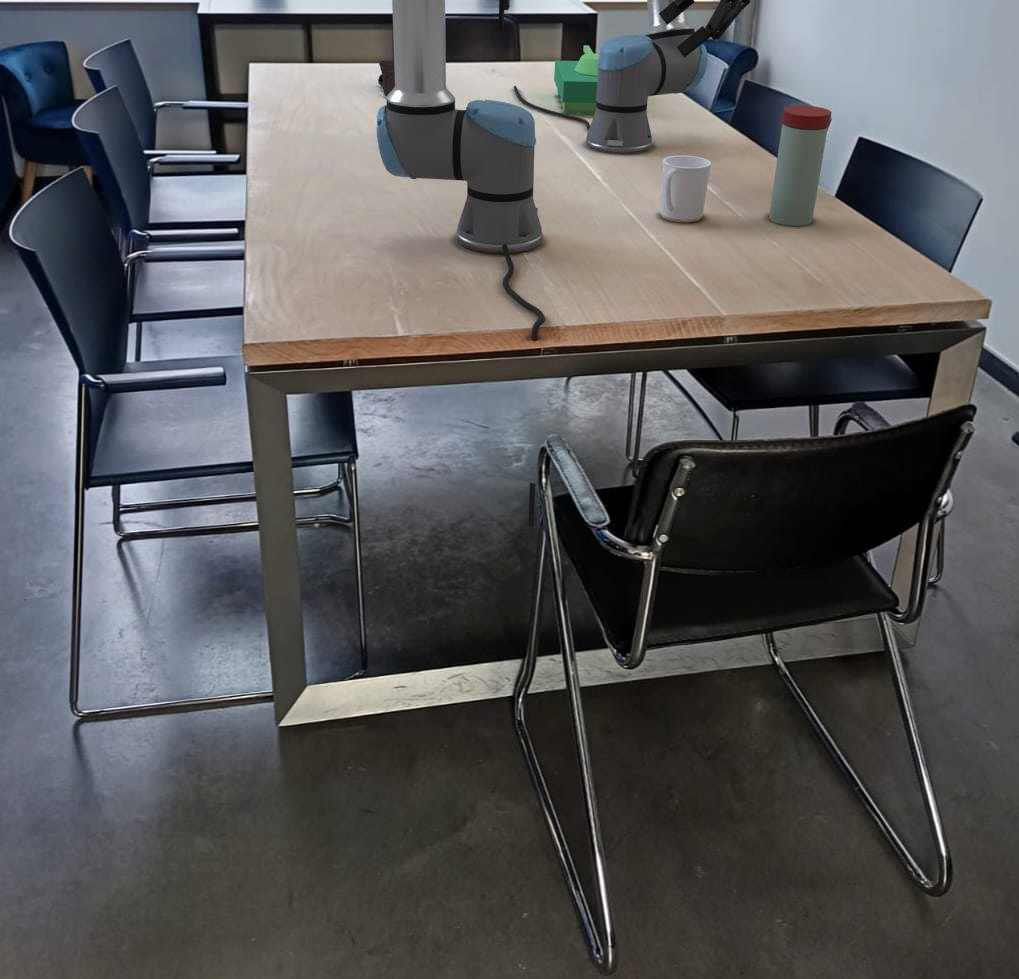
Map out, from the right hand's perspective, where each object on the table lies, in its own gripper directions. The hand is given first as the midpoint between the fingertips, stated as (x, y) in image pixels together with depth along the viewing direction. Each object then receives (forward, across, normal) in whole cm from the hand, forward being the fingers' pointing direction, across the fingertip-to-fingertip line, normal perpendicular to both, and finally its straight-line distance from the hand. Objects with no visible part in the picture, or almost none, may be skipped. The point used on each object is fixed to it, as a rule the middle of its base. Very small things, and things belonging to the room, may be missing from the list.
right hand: (671, 36), depth 219 cm
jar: (+2, +5, -45) cm, 45 cm away
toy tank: (+22, +62, +39) cm, 77 cm away
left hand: (+31, -12, +25) cm, 41 cm away
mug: (+19, -5, -35) cm, 40 cm away
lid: (-10, -6, -34) cm, 36 cm away
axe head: (+60, +48, +70) cm, 104 cm away
